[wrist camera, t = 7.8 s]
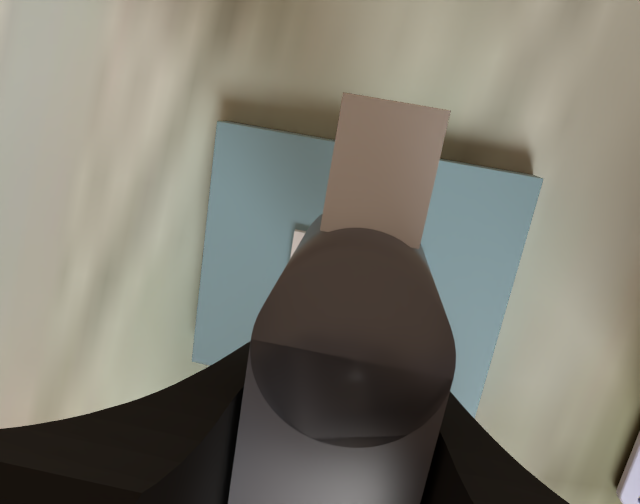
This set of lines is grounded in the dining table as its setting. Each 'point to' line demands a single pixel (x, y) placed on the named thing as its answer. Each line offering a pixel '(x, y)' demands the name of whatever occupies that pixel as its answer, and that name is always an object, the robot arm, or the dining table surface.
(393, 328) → the plug
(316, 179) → the board
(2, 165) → the dining table surface
